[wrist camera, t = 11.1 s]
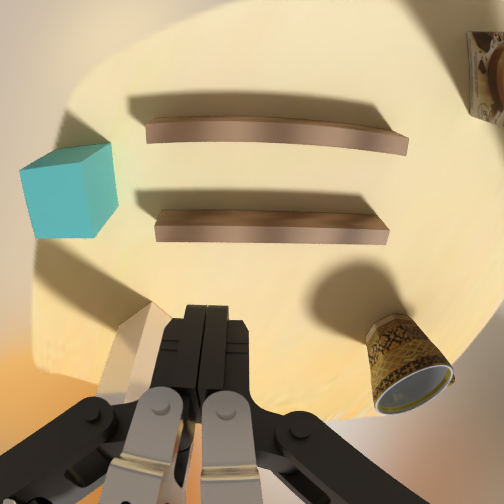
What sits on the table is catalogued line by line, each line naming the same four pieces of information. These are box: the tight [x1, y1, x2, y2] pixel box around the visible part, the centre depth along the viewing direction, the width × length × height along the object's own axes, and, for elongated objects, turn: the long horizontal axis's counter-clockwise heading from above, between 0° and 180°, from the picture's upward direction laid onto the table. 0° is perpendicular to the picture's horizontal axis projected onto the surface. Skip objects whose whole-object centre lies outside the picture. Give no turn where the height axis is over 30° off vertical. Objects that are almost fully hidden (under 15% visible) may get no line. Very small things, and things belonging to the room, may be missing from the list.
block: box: [19, 143, 119, 238], centre depth 22 cm, size 6×6×6 cm
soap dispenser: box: [95, 302, 172, 405], centre depth 25 cm, size 6×9×22 cm
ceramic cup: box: [366, 314, 455, 415], centre depth 33 cm, size 13×10×10 cm
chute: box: [146, 116, 409, 245], centre depth 24 cm, size 20×10×3 cm, turn 88°
